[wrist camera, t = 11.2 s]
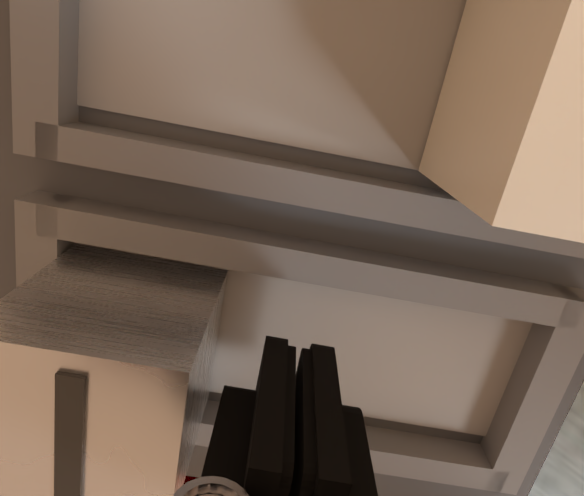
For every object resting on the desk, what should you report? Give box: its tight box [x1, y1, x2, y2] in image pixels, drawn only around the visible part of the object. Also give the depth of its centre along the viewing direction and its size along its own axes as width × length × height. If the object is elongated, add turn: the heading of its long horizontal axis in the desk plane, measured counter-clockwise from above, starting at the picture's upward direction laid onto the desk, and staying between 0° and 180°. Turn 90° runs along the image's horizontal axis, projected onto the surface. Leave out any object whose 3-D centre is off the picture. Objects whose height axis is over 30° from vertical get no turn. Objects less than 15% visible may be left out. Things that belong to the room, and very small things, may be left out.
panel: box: [0, 0, 584, 496], centre depth 10 cm, size 17×25×6 cm
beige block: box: [0, 244, 228, 496], centre depth 11 cm, size 4×4×5 cm
